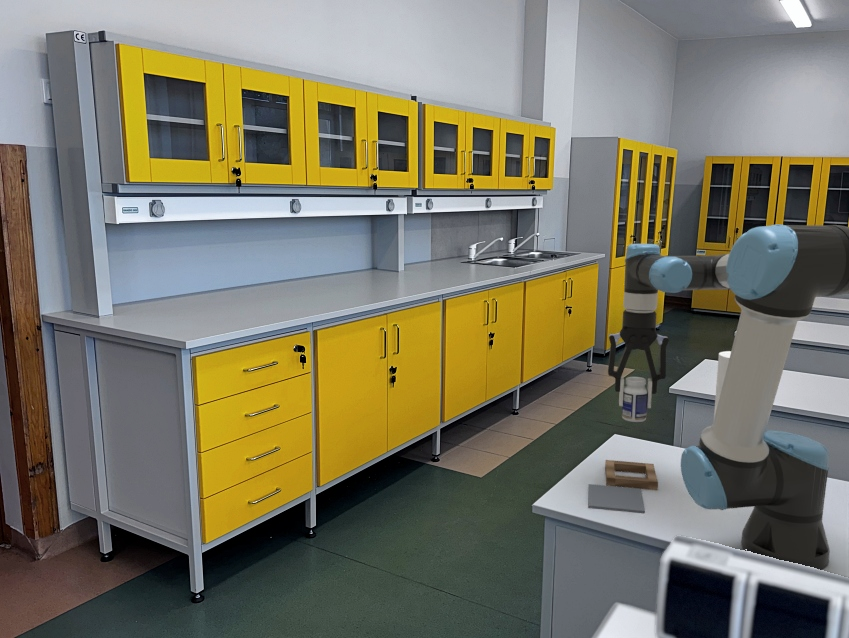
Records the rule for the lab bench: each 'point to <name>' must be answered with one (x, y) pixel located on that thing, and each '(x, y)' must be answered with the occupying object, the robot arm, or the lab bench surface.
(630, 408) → the pill bottle
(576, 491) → the lab bench surface
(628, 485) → the wooden square frame
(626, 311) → the robot arm
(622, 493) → the rubber mat
